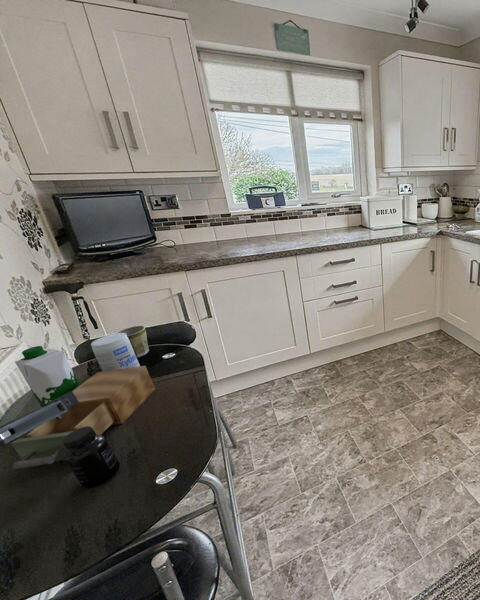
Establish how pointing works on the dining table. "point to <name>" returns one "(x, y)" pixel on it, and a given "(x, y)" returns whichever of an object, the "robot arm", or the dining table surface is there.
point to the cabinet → (117, 390)
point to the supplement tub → (114, 352)
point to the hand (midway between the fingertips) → (34, 414)
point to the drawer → (61, 434)
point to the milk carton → (47, 373)
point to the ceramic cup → (137, 339)
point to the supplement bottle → (90, 457)
